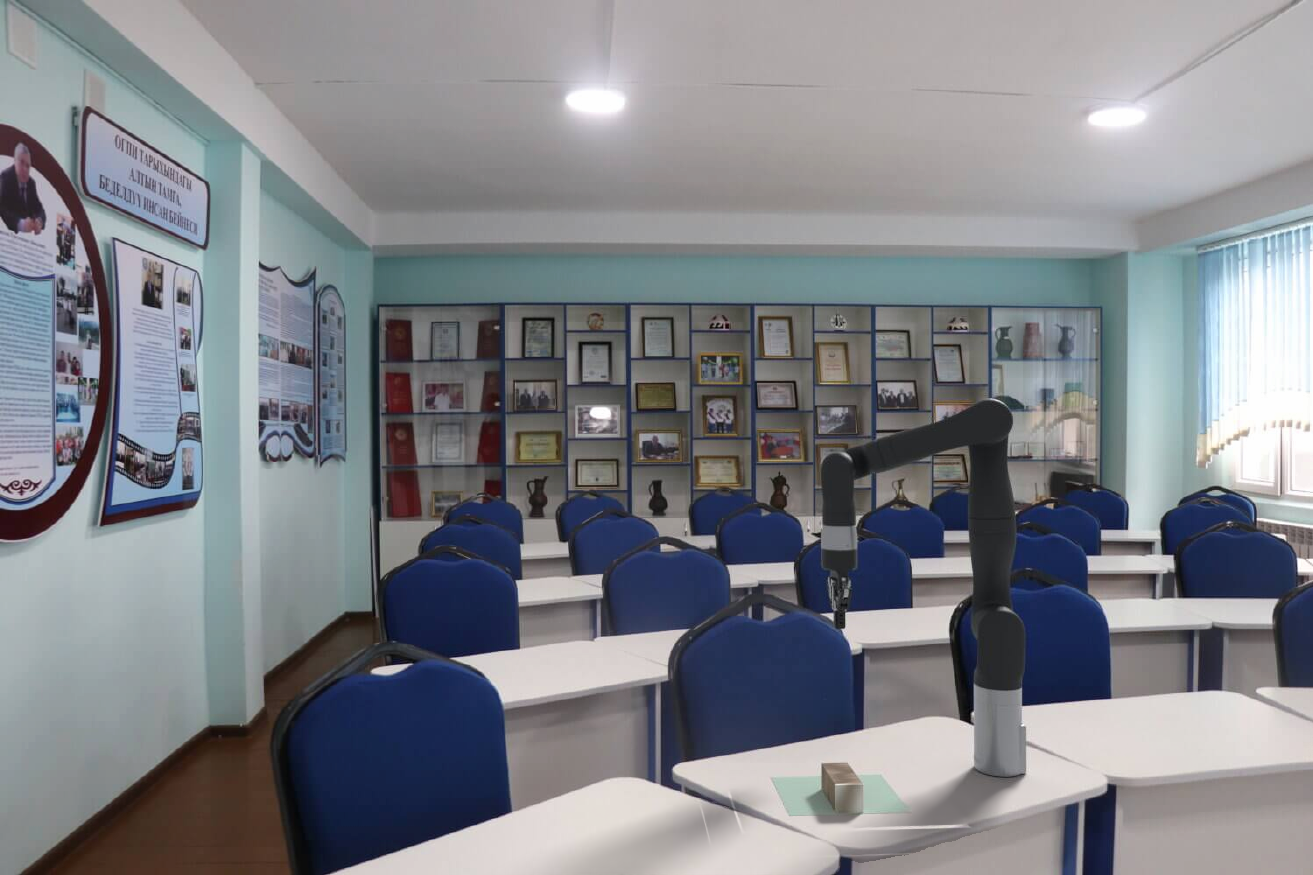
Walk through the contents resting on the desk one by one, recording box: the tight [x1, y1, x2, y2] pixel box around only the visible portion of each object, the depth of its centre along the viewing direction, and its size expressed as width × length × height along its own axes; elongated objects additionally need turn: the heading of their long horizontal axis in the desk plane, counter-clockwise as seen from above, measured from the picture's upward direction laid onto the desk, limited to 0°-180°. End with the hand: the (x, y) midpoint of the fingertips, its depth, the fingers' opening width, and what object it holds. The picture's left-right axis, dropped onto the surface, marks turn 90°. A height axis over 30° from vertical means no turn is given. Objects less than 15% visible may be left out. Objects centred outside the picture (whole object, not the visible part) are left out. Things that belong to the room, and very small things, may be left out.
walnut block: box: [820, 762, 863, 813], centre depth 179 cm, size 5×5×11 cm
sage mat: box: [770, 773, 912, 817], centre depth 182 cm, size 22×19×1 cm
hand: (839, 628), depth 204 cm, fingers closed
